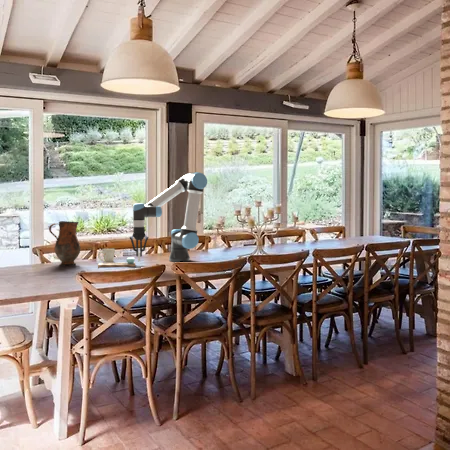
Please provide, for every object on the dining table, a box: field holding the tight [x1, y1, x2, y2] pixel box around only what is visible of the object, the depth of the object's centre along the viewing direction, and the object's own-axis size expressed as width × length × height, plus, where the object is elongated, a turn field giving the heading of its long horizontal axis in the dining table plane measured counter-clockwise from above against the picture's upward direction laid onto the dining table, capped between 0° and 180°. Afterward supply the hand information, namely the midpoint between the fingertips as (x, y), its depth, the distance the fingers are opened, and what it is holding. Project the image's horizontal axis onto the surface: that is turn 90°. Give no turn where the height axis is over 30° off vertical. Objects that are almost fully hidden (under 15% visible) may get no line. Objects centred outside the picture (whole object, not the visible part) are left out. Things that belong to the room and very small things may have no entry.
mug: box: [97, 248, 116, 263], centre depth 355 cm, size 8×13×10 cm, turn 78°
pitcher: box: [48, 220, 81, 267], centre depth 345 cm, size 17×21×30 cm
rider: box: [126, 257, 135, 264], centre depth 339 cm, size 5×6×5 cm
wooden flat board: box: [97, 261, 136, 269], centre depth 338 cm, size 24×9×3 cm, turn 98°
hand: (139, 261), depth 340 cm, fingers closed
